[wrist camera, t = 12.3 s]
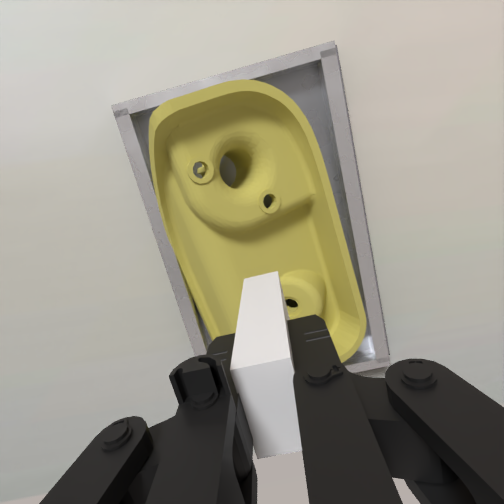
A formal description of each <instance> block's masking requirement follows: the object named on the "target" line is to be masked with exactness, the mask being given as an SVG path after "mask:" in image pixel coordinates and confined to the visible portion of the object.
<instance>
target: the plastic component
mask: <svg viewBox="0 0 504 504" xmlns="http://www.w3.org/2000/svg"><path fill="white" fill-rule="evenodd" d="M149 155H150V165H151V172H152V178H153V184H154V189H155V194H156V198H157V202H158V207H159V211H160V214H161V218H162V221H163V225H164V228H165V231H166V234H167V237H168V240H169V242H170V244H171V246H172V248H173V250H174V253H175V255H176V258H177V260H178V263H179V265H180V268H181V270H182V273H183V275H184V278H185V280H186V283H187V285H188V288H189V290H190V293H191V295H192V297H193V299H194V302H195V304H196V306H197V308H198V310H199V313H200V315H201V317H202V319H203V322H204V324H205V326H206V328H207V330H208V333H209V335H210V337H211V339H212V341H213V340H214V339H215V338H216V337H219V336H223V335H228V334H232V333H236V327H237V321H238V314H239V308H240V301H241V295H242V289H243V282H244V279H245V278H250V277H254V276H258V275H262V274H267V273H271V272H275V271H278V274H279V278H280V282H281V286H282V290H283V294H284V298H285V300H286V299H292V300H295V301H296V302H297V304H298V306H297V307H295V308H291V307H289V306H287V305H286V306H287V310H288V314H289V318H290V320H291V319H296V318H300V317H305V316H309V315H314V314H316V315H317V316H319V317H321V318H322V319H324V321H325V323H326V326H327V328H328V331H329V333H330V336H331V338H332V341H333V343H334V346H335V348H336V351H337V353H338V356H339V358H340V361H341V363H343V362H344V361H346V360H347V359H349V358H350V357H351V356H352V355H353V354H354V353H355V352H356V351H357V350H358V348H359V347H360V345H361V343H362V341H363V339H364V336H365V332H366V325H367V323H366V315H365V311H364V307H363V303H362V300H361V296H360V292H359V289H358V285H357V281H356V277H355V274H354V270H353V266H352V262H351V259H350V255H349V251H348V248H347V244H346V240H345V236H344V233H343V229H342V225H341V222H340V218H339V214H338V210H337V207H336V203H335V199H334V195H333V192H332V188H331V184H330V181H329V177H328V174H327V170H326V167H325V164H324V160H323V157H322V154H321V151H320V148H319V145H318V142H317V140H316V137H315V135H314V132H313V130H312V128H311V126H310V124H309V122H308V120H307V118H306V116H305V115H304V114H303V112H302V111H301V109H300V108H299V107H298V105H297V104H296V103H295V102H294V101H293V100H292V99H291V98H290V97H289V96H287V95H286V94H285V93H284V92H282V91H281V90H279V89H277V88H276V87H274V86H272V85H269V84H267V83H264V82H260V81H257V80H246V79H241V80H233V81H227V82H223V83H220V84H217V85H213V86H210V87H207V88H204V89H201V90H198V91H195V92H192V93H189V94H186V95H183V96H179V97H176V98H173V99H170V100H168V101H166V102H164V103H162V104H161V105H160V106H159V107H158V108H157V109H155V110H154V111H153V113H152V115H151V117H150V121H149ZM223 155H225V156H226V157H228V158H230V159H231V161H232V162H233V163H234V165H235V168H236V177H235V181H234V182H233V184H232V185H231V186H230V187H229V186H228V185H227V184H225V182H224V181H223V180H222V178H221V175H220V169H219V166H220V161H221V158H222V157H223ZM196 162H199V163H201V164H202V167H200V168H198V169H197V173H198V174H201V175H202V178H201V179H200V178H198V177H196V176H195V175H194V173H193V166H194V164H195V163H196ZM267 194H268V195H269V196H270V197H271V200H272V203H271V205H270V207H268V208H266V207H265V206H264V203H263V200H264V197H265V196H266V195H267Z"/></svg>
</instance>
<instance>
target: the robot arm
mask: <svg viewBox="0 0 504 504" xmlns="http://www.w3.org/2000/svg"><path fill="white" fill-rule="evenodd" d="M169 378H170V381H171V384H172V386H173V389H174V392H175V395H176V397H177V400H178V403H179V406H178V409H177V412H176V415H175V416H174V417H172V418H170V419H168V420H166V421H163V422H161V423H159V424H157V425H154V426H152V427H150V428H148V426H147V424H146V422H145V421H144V420H143V418H142V417H137V416H132V417H126V418H123V419H120V420H117V421H115V422H113V423H112V424H111V425H109V426H108V427H106V428H105V429H103V430H102V431H101V432H100V433H99V434H98V435H97V436H96V437H95V438H94V439H93V441H92V442H91V443H90V444H89V445H88V446H87V448H86V449H85V450H84V451H83V452H82V454H81V455H80V456H79V457H78V458H77V459H76V461H75V462H74V463H73V464H72V465H71V467H70V468H69V469H68V470H67V471H66V473H65V474H64V475H63V476H62V477H61V478H60V480H59V481H58V482H57V483H56V484H55V486H54V487H53V488H52V489H51V490H50V492H49V493H48V494H47V495H46V496H45V498H44V499H43V500H42V501H41V502H40V503H39V504H257V474H256V469H255V466H254V463H253V460H252V456H253V446H254V449H255V453H256V455H257V459H259V458H265V457H271V456H276V455H282V454H287V453H293V452H298V451H302V453H303V460H304V467H305V475H306V482H307V489H308V496H309V504H403V503H402V501H401V498H400V496H399V494H398V491H397V489H396V486H395V484H394V481H393V479H392V477H393V478H400V479H404V480H405V482H406V484H407V486H408V487H409V489H410V490H411V491H412V493H413V494H414V495H415V497H416V498H417V499H418V501H419V502H420V504H504V407H502V406H501V405H499V404H498V403H497V402H495V401H494V400H492V399H491V398H489V397H488V396H487V395H485V394H484V393H482V392H481V391H479V390H478V389H476V388H475V387H474V386H472V385H471V384H469V383H468V382H466V381H465V380H464V379H462V378H461V377H459V376H458V375H456V374H455V373H453V372H452V371H451V370H449V369H448V368H446V367H445V366H443V365H441V364H439V363H437V362H434V361H430V360H425V359H407V360H402V361H398V362H397V363H395V364H393V365H391V366H390V367H389V368H388V370H387V371H386V373H385V378H371V377H363V376H359V375H355V374H353V373H351V372H349V371H348V370H347V368H346V367H345V366H344V365H343V364H342V363H341V361H340V358H339V356H338V353H337V351H336V348H335V346H334V343H333V341H332V338H331V336H330V333H329V331H328V328H327V326H326V323H325V321H324V319H322V318H321V317H319V316H317V315H316V314H314V315H309V316H305V317H300V318H296V319H291V320H290V318H289V314H288V310H287V306H286V302H285V298H284V294H283V290H282V286H281V282H280V278H279V274H278V271H275V272H271V273H267V274H262V275H258V276H254V277H250V278H245V279H244V282H243V289H242V295H241V301H240V308H239V314H238V321H237V327H236V333H232V334H228V335H223V336H219V337H216V338H215V339H214V340H213V341H212V343H211V344H210V345H209V346H208V349H207V353H206V355H199V356H196V357H192V358H190V359H188V360H186V361H184V362H182V363H181V364H179V365H178V366H177V367H176V368H174V369H173V371H172V372H171V374H170V375H169Z"/></svg>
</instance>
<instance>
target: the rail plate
mask: <svg viewBox="0 0 504 504" xmlns="http://www.w3.org/2000/svg"><path fill="white" fill-rule="evenodd" d="M241 79H246V80H257V81H260V82H264V83H267V84H269V85H272V86H274V87H276V88H277V89H279V90H281V91H282V92H284V93H285V94H286V95H287V96H289V97H290V98H291V99H292V100H293V101H294V102H295V103H296V104H297V105H298V107H299V108H300V109H301V111H302V112H303V114H304V115H305V116H306V118H307V120H308V122H309V124H310V126H311V128H312V130H313V132H314V135H315V137H316V140H317V142H318V145H319V148H320V151H321V154H322V157H323V160H324V164H325V167H326V170H327V174H328V177H329V181H330V184H331V188H332V192H333V195H334V199H335V203H336V207H337V210H338V214H339V218H340V222H341V225H342V229H343V233H344V236H345V240H346V244H347V248H348V251H349V255H350V259H351V262H352V266H353V270H354V274H355V277H356V281H357V285H358V289H359V292H360V296H361V300H362V303H363V307H364V311H365V315H366V323H367V325H366V332H365V336H364V339H363V341H362V343H361V345H360V347H359V348H358V350H357V351H356V352H355V353H354V354H353V355H352V356H351V357H350V358H349V359H347V360H346V361H344V362H343V363H342V364H343V365H344V366H345V367H346V368H347V370H348V371H349V372H351V373H356V372H361V371H366V370H371V369H376V368H381V367H385V366H390V361H389V355H390V354H389V348H388V342H387V336H386V330H385V324H384V319H383V313H382V307H381V301H380V295H379V289H378V284H377V278H376V272H375V266H374V260H373V254H372V248H371V243H370V237H369V231H368V225H367V219H366V213H365V208H364V202H363V196H362V190H361V184H360V178H359V173H358V167H357V161H356V155H355V149H354V143H353V137H352V132H351V126H350V120H349V114H348V108H347V102H346V97H345V91H344V85H343V79H342V73H341V67H340V62H339V56H338V50H337V45H335V41H331V42H327V43H324V44H321V45H317V46H314V47H310V48H307V49H303V50H300V51H297V52H293V53H290V54H286V55H283V56H279V57H276V58H273V59H269V60H266V61H262V62H259V63H255V64H252V65H249V66H245V67H242V68H238V69H235V70H232V71H228V72H225V73H221V74H218V75H214V76H211V77H208V78H204V79H201V80H197V81H194V82H190V83H187V84H184V85H180V86H177V87H173V88H170V89H166V90H163V91H160V92H156V93H153V94H149V95H146V96H142V97H139V98H136V99H132V100H129V101H125V102H122V103H119V104H115V105H112V106H111V107H112V110H113V113H114V116H115V119H116V122H117V125H118V128H119V131H120V134H121V137H122V140H123V143H124V146H125V149H126V152H127V155H128V157H129V160H130V163H131V166H132V169H133V172H134V175H135V178H136V181H137V184H138V187H139V190H140V193H141V196H142V199H143V202H144V205H145V208H146V211H147V214H148V217H149V220H150V223H151V226H152V229H153V232H154V235H155V238H156V241H157V244H158V247H159V250H160V253H161V256H162V259H163V262H164V265H165V268H166V271H167V273H168V276H169V279H170V282H171V285H172V288H173V291H174V294H175V297H176V300H177V303H178V306H179V309H180V312H181V315H182V318H183V321H184V324H185V327H186V330H187V333H188V336H189V339H190V342H191V345H192V348H193V351H194V354H195V357H196V356H199V355H206V353H207V349H208V346H209V345H210V344H211V343H212V339H211V337H210V335H209V333H208V330H207V328H206V326H205V324H204V322H203V319H202V317H201V315H200V313H199V310H198V308H197V306H196V304H195V302H194V299H193V297H192V295H191V293H190V290H189V288H188V285H187V283H186V280H185V278H184V275H183V273H182V270H181V268H180V265H179V263H178V260H177V258H176V255H175V253H174V250H173V248H172V246H171V244H170V242H169V240H168V237H167V234H166V231H165V228H164V225H163V221H162V218H161V214H160V211H159V207H158V202H157V198H156V194H155V189H154V184H153V178H152V172H151V165H150V155H149V121H150V117H151V115H152V113H153V111H154V110H155V109H157V108H158V107H159V106H160V105H161V104H162V103H164V102H166V101H168V100H170V99H173V98H176V97H179V96H183V95H186V94H189V93H192V92H195V91H198V90H201V89H204V88H207V87H210V86H213V85H217V84H220V83H223V82H227V81H233V80H241ZM200 167H202V164H201V163H199V162H196V163H195V164H194V166H193V173H194V175H195V176H196V177H198V178H200V179H201V178H202V175H201V174H198V173H197V169H198V168H200ZM219 169H220V175H221V178H222V180H223V181H224V182H225V184H227V185H228V186H229V187H230V186H231V185H232V184H233V182H234V181H235V177H236V168H235V165H234V163H233V162H232V161H231V159H230V158H228V157H226V156H225V155H223V157H222V158H221V161H220V166H219ZM263 203H264V206H265V207H266V208H268V207H270V205H271V203H272V200H271V197H270V196H269V195H268V194H267V195H266V196H265V197H264V200H263ZM285 302H286V305H287V306H289V307H291V308H295V307H297V306H298V304H297V302H296V301H295V300H292V299H286V300H285Z"/></svg>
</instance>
